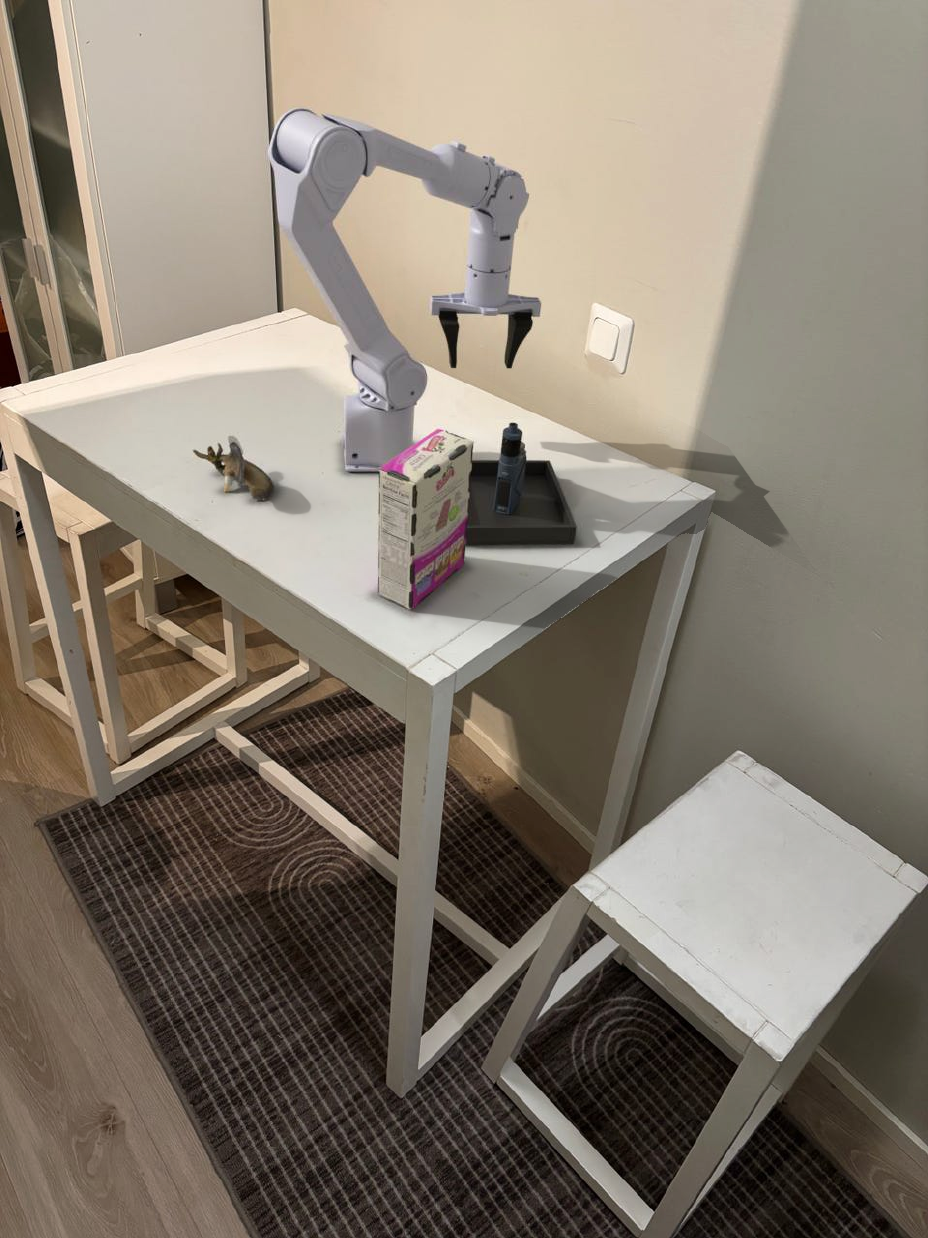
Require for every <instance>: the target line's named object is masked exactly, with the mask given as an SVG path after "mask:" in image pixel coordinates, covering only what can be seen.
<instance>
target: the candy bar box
mask: <svg viewBox="0 0 928 1238" xmlns="http://www.w3.org/2000/svg"><path fill="white" fill-rule="evenodd" d="M474 443H475V442H474V441H473V440H471V439H468V438H466V437H462V436H460V435H458V434H456V433H452V432H449V431H448V430H444V429H441V428H437V429H435V430H434V431H431V433H429V434H428V435H426V436H425V437H423V438H422V439H421V440H419V441H418V442H416V443H414V444H413V446H411V447H410V448H408V449H407V450H405V451H404V452H402V453H401V454H399V455H398V456H396V457H395V458H393V459H392V460H390V461H389V462H387V463H386V464H384V465H383V466H381V467H380V468H379V471H378V541H377V544H378V545H377V548H378V550H377V551H378V552H377V553H378V554H377V555H378V556H377V595H378V596H379V597H381V598H383V599H384V600H387V601H390V602H392V603H393V604H394V603H395V604H397V605H398V606H400V607H402V608H405V609H407V610H409V611H412V610H414V609H415V608H416V607H417V606H419V605H420V604H421V603H422V602H423V601H425V599H427V598H428V597H429V596H430V595H431V594H432V593H433V592H434V591H435V590H437V589H438V588H439V587H440V586H441V585H442V584H443V583H444V582H446V581H447V580H448V579H449V578H451V577H452V576H453V575H454V574H455V573H456V572H457V571H459V570H460V569H461V568H462V567H464V565H465V558H466V557H465V556H466V545H465V544H466V531H467V518H468V503H469V494H470V480H471V468H472V460H473V453H474Z"/></svg>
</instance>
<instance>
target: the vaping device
mask: <svg viewBox="0 0 928 1238" xmlns="http://www.w3.org/2000/svg"><path fill="white" fill-rule="evenodd" d="M522 440H523V430H521V429H520V428H519V424H518V423H517V422H509V424H508V426H507V427H505V428H504V429H502V436H501V445H500V453H499V459H498V460H499V467H498V475H497V483H496V493H495V502H494V511H496V512H498V513H501V514H508V515H509V514H511V513H512V511H513V510H514V509H515V507H516V506H517V504H518V503H519V501H520V496H521V495H522V487H523V480H524V473H525V465H526V460H527V450H525V449H526V443H525V442H523V441H522Z"/></svg>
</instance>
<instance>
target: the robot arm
mask: <svg viewBox="0 0 928 1238" xmlns="http://www.w3.org/2000/svg"><path fill="white" fill-rule="evenodd" d="M320 115H321V116H319V115H318V114H317V113H315V112H313V111H312V110H310V109H308V108H305V107H295V108H291V109H289V110H287V111H286V112H284V113H283V114H282V115H281V116H280V117H279V119H278V120H277V122H276V124H275V126H274V129H273V132H272V136H271V139H270V141H269V145H268V149H267V157H268V159H269V162H270V165H271V168H272V169H273V174H274V175H273V176H274V187H275V199H276V212H277V220H278V224H279V227H280V228H281V231H282V232H283V234H284V235H285V237H286V239H287V241H288V243H289V244H290V246H291V248H292V249H293V251H294V253H295V254H296V256H297V257H298V259H299V261H300V263H301V265H302V266H303V268H304V269H305V271H306V274H308V276H309V278H310V279H311V281H312V283H313V284H314V287H315V288H316V290H317V292H318V294H319V295H320V297H321V299H322V301H324V304H325V305H326V307H327V308H328V310H329V312H330V314H331V315H332V317H333V319H334V320H335V322H336V324H337V325H338V327H339V329H340V330H341V332H342V334H343V335H344V338H345V339H346V341H345V343H344V344H343V346H344V348H345V350H346V353H347V355H348V361H349V370H350V372H351V374H352V376H353V377H354V378H355V379H356V380H358V381H357V382H358V383H357V389H358V390H359V392H358V393H355V394H349V395H344V396H343V435H341V450H343V455H344V456H343V457H344V465H345V466H344V468H345V471H346V472H379V468H380V467H381V466H383V465H384V464H386V463H387V462H389V461H390V460H392V459H393V458H395V457H396V456H398V455H399V454H401V453H402V452H404V451H405V450H407V449H408V448H410V447H411V446H413V445H414V444H413V443H414V442H413V441H414V439H413V438H414V424H415V423H414V421H415V406H417V404H418V401H420V399H421V398H422V397H423V395H424V394H425V391H426V388H427V385H428V372H427V369H426V368H425V366H424V365H423V364H422V363H421V362H419V361H418V360H416V359H414V358H413V357H412V356H411V355H410V353H409V351H408V350H407V348H406V347H405V346H404V345H403V344H402V342H400V340H399V339H398V338H397V337H396V336H395V334H394V333H393V332H391V330H390V328H389V326H388V324H387V322H386V321H385V319H384V317H383V315H382V313H381V312H380V310H379V308H378V306H377V304H376V302H375V301H374V299H373V297H372V295H371V293H370V291H369V290H368V287H367V285H366V284H365V282H364V280H363V278H362V277H361V275H360V273H359V270H358V269H357V267H356V265H355V263H354V262H353V259H352V258H351V256H350V254H349V252H348V250H347V248H346V247H345V245H344V243H343V241H342V239H341V237H340V236H339V233H338V232H337V230H336V228H335V226H334V221H335V220H336V218H337V217H338V215H339V213H340V212H341V210H342V208H343V207H344V205H345V203H346V202H347V200H348V199H349V198H350V196H351V195H352V193H353V190H354V189H356V186H357V184H358V183H359V181H360V179H361V178H362V176H364V177H365V178H368V177H371V176H372V174H373V172H374V170H376V168H377V167H380V168H384V169H388V170H390V171H394V172H397V173H400V174H403V175H407V176H410V177H414V178H417V179H419V180H421V183H422V187H423V188H424V190H425V192H426V193H427V194H428V195H430V196H432V197H435V198H439V199H441V200H444V201H447V202H449V203H453V204H455V205H459V206H462V207H465V208H468V209H470V213H469V225H468V226H469V227H468V228H469V230H468V242H467V255H466V268H465V269H466V270H465V281H464V282H465V285H464V292H457V293H449V294H441V295H439V294H438V295H437V294H436V295H430V296H429V312H430V315H431V316H437V317H438V320H439V323H440V326H441V328H442V331H443V333H444V336H445V339H446V343H447V349H448V360H449V361H448V362H449V367H450V368H451V369H457V364H458V340H459V332H460V323H459V316H458V315H482V316H486V317H497V316H499V315H507V338H506V344H505V351H504V365H505V367H506V369H512V368H513V365H514V361H515V358H516V356H517V354H518V351H519V349H520V347H521V345H522V343H523V341H524V340H525V338H526V337H527V335H528V334H529V333H530V331H531V330H532V328H533V325H534V321H533V319H532V318H540V317H541V310H542V301H541V299H540V297H538V296H537V297H536V296H524V295H517V294H511V293H510V284H511V283H510V282H511V273H512V272H511V271H512V263H513V253H514V252H513V251H514V244H515V243H514V242H515V234H516V232H517V230H518V229H519V222H520V219H521V215H522V214H523V213H524V211H525V209H526V207H527V206H528V202H529V198H530V192H529V193H528V192H527V187H526V184H525V180H524V178H522V177H523V175H521V174H520V173H519V172H518V171H516V170H513V169H511V168H510V167H506V166H504V165H502V164H500V163H497V162H495V160H496V159H495V158H494V157H493V156H490V155H488V154H482V156H479V155H476V154H474V153H471V152H469V151H466V150H467V146H466V145H465V144H464V143H460V142H459V141H456V140H451V141H450V144H448V143H445V142H442V143H438V144H436V145H434V146H433V147H432V148H430V149H429V150H428V149H425V148H424V147H421V146H418V145H416V144H414V143H411V142H409V141H407V140H405V139H403V138H400V137H398V136H395V135H393V134H390V133H387V132H385V131H383V130H381V129H379V128H377V127H374V126H371V125H369V124H367V123H365V122H361V121H357V120H354V119H350V118H346V117H342V116H338V115H335V114H330V113H326V112H325V113H324V112H321V113H320Z"/></svg>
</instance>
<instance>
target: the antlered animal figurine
mask: <svg viewBox="0 0 928 1238" xmlns="http://www.w3.org/2000/svg"><path fill="white" fill-rule="evenodd" d="M227 439H228V440H227V441H228V444H229V445H228V446H229V450H230V451H229V452H228V453H227V454H224V453H223V451H224V449H223V447H222V444H221V443H219V442H218V443H217V447H218V448H217V452H215V450H214V448H213V447H212V445H208V447H207V449H206V452H207V454H205V453H202V452H199V451H198V450H197V449H192V452H193V454H195V456H196V457H198V458H200V459H202V460H206V461H208V462H210V463H211V465H213V466H214V468H215V470H217V472H218V473H219V474H221V475H223V474H224V488H223V492H224V493H226V492H228V490H229V489H230V488H232V486H233V482H234V479H235V477H236V478H238V481H239V483H240V484H242V483H243V481H244V482H245V483H246V485H247V487H248V489H249V493H250V496H251V497H252V499H253V500H257V501H263V502H265V501H267V500H270V499H271V497H272V496H273V493H274V492H275V485H274V482H273V480H272V479H271V477H269V475H268V474H267V473H266V472H265V471H264V470H263V469H262V468H260V467H259V466H258V465H256V464H254V463H253V462H251V461H249V460H247V459H245V458H244V456H243V455H244V450H243V447H242V446H241V443H240V441H239V440H238V438H237V437H236V436H235V435H228V437H227ZM222 463H224V464H222Z"/></svg>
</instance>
